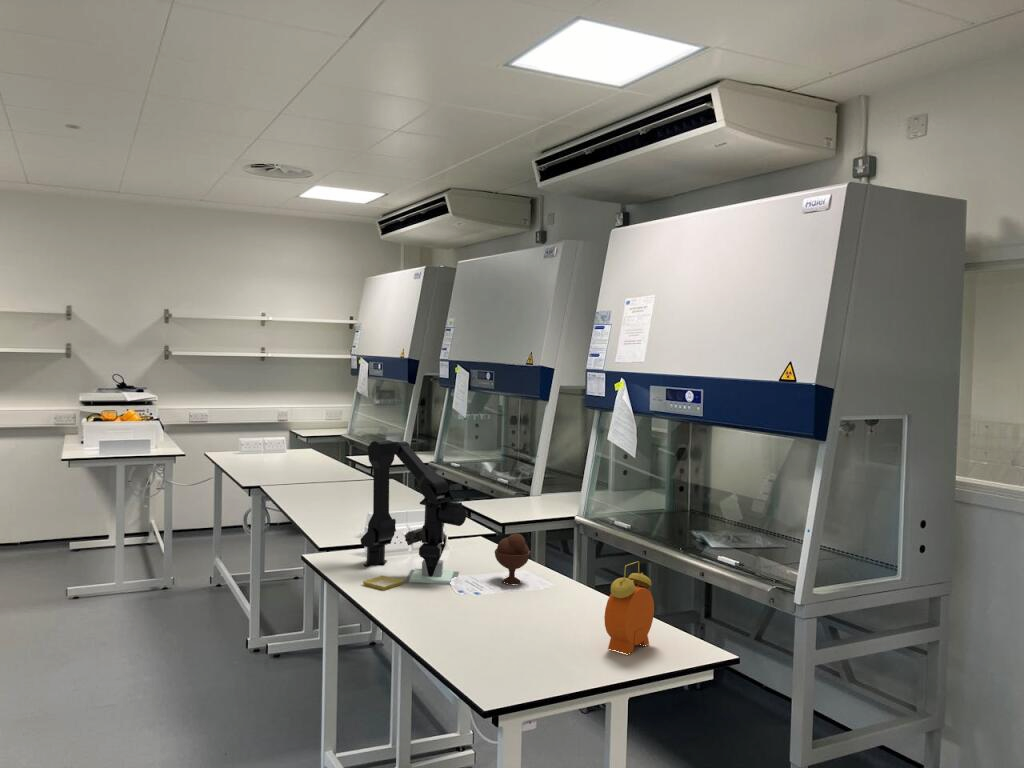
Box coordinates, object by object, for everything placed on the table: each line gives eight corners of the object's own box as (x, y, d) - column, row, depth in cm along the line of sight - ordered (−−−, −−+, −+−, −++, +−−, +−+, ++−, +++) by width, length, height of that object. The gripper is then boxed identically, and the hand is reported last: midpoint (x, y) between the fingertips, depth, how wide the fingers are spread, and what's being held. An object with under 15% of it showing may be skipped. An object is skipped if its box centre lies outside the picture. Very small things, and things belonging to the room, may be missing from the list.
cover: (415, 571, 245) (415, 555, 244) (454, 572, 244) (454, 557, 244) (409, 581, 233) (409, 565, 232) (449, 583, 232) (450, 567, 232)
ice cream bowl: (530, 578, 243) (532, 530, 242) (527, 588, 232) (529, 538, 231) (496, 576, 244) (498, 528, 243) (491, 586, 233) (493, 535, 232)
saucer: (361, 588, 228) (361, 581, 228) (382, 582, 235) (382, 574, 235) (383, 594, 223) (384, 586, 223) (404, 587, 230) (404, 580, 230)
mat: (411, 571, 246) (411, 569, 246) (459, 573, 246) (459, 571, 246) (403, 584, 231) (403, 583, 231) (454, 587, 231) (454, 585, 231)
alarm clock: (631, 636, 194) (634, 556, 194) (653, 643, 190) (656, 560, 190) (601, 650, 184) (605, 565, 183) (624, 657, 180) (628, 570, 179)
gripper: (412, 513, 247) (410, 563, 248) (402, 526, 229) (400, 579, 229) (447, 515, 247) (445, 564, 248) (440, 527, 228) (438, 581, 229)
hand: (432, 572), depth 238 cm, fingers open, 9 cm apart
